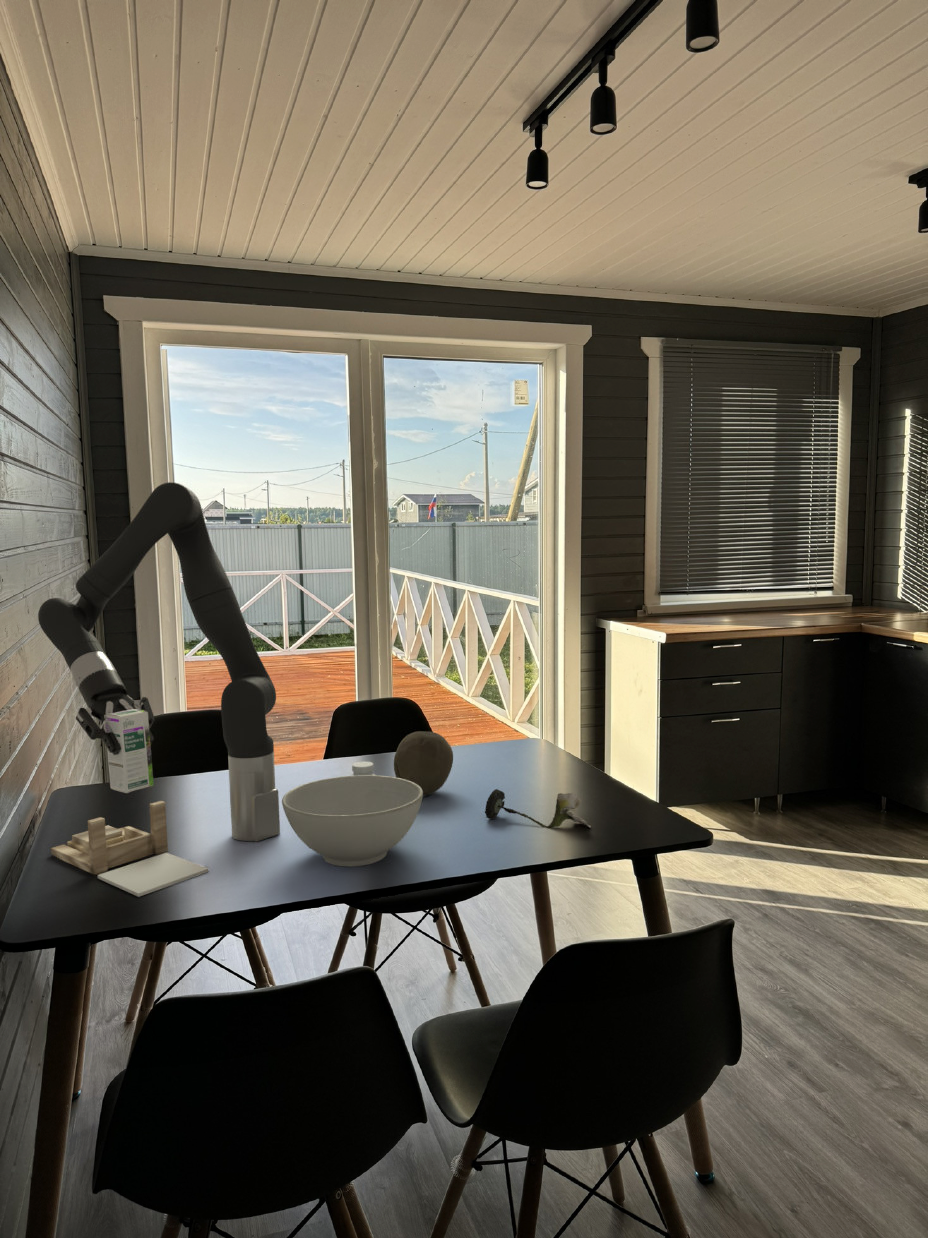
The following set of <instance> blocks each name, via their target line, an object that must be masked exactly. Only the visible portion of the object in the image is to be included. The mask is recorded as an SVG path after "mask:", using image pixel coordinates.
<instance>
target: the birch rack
mask: <svg viewBox="0 0 928 1238" xmlns="http://www.w3.org/2000/svg"><path fill="white" fill-rule="evenodd" d="M166 808H167V807H166V801H163V800H158V801H154V802H151V803H149V816H150V818H149V819H150V833H148V832H147V831H143V830H140V829H138V828H135V827H133V826H129V825H128V826H124V827H120V828H118V829H119V830H122V836H124V840H125V841H122V842H119V843H115V844H112V845H109V846H106V833H105V826H106V819H105V817H101V816H100V817H96V818H93V819H89V820H87V831H88V835H89V838H86V839H83V852H80V851H78V850H76V849H73V848H71V847H69V846H68V845H67V844H61V845H57V846H54V847H51V848H50V851H51V855H52V854H53V855H54V856H56V857H57V859H58V858H59V859H58V860H61V861H63V862H65V863H67V864H70V865H72V866H74V867H77V868H79V869H81V870H82V871H85V872H88V873H90V874H92V875H94V876H96V875H99V874H102V873H106V872H109V869H110V868H114V867H117V866H121V865H123V864H126V863H130V862H132V861H136V860H139V859H142V858H144V857H148V856H152V855H154V856H158V855H161V854H164V853H168V852H169V848H168V847H169V846H168V845H169V844H168V830H167V828H168V827H167V812H166V811H167V810H166ZM54 856H53V857H54ZM56 857H55V858H56Z"/></svg>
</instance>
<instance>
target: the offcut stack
mask: <svg viewBox="0 0 928 1238" xmlns="http://www.w3.org/2000/svg"><path fill="white" fill-rule="evenodd" d="M105 833H106V846H109V845H112V844H115V843H119V842H122V841H125V840H124V836H122V830H119V828H116V827H113V826H110V825H109V824H108V825H107V824H106V825H105ZM86 838H89V835H88V830H86V831H83V832H79V833H76V834H73V835H71V840H69V841H67V844H66V845H67V846H69V847H71V848H73V849H76V850H78V851H80V852H83V839H86Z"/></svg>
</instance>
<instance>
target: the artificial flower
mask: <svg viewBox="0 0 928 1238" xmlns="http://www.w3.org/2000/svg"><path fill="white" fill-rule="evenodd" d="M505 795H506V794H505V792H504V791H503V790H500V789H498V788H497V789H494V790H493V791H491V793H490V795H489V796H488V798H487V800H486V802H485V803H486V805H485V808H484V809H485V810H484V813H485V817H486V818H487V819H489V820H494V819H495V818H497V816H498V814H499V813H500V811H501V809H503V810H504V811H505V812H506V813H509V814H514V815H515V814H517V815H520V816H521V817H524V818H527V819H529V820H530V821H532V822H533V823H536V824H537V825H538V826H540V827H542V828H544V827H547V828H546V829H551V828H550V827H552V828H558V827H560V826H561V825H562V824H563V822H565V821H566V820H571V821H572V822H574V823H575V822H578V823H579V824H580V825H583V826H586V827H588V828H590V829H592V827H591V825H589V824H588V822H587V821H586V820H583V819H582V818H581V817H580V816H578V815H576V814H575V813H573V812H574V811H576V810H578V808H579V807H580V805H581V803H582V800H581V799H580V798H577V796H576V794H575V793H573V792H571V793H570V792H566V793H563V792H561V793H558V794H557V797H556V802H555V812H554V817H552V820H551V822H550V824H549V825H546V824H543V823H542V822H540V821H538V820H536V819H535V818H532V817H531V816H529V815H528V814H525V813H522V812H520V811H517V810H514V809H512V808H507V807H505V799H506V796H505Z"/></svg>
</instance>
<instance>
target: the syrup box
mask: <svg viewBox="0 0 928 1238" xmlns="http://www.w3.org/2000/svg"><path fill="white" fill-rule="evenodd" d="M106 716H107V718H108V723H109V725H110V727H111V733H114V735H115V737H116V739H117V741H118V743H119V745H120V747H121V750H120V752H119V754H117V755H113V753H111V752H109V750H108V748H107V747H106V748H107V749H106V751H107V762H108V773H109V785H110V786H109V787H110V790H114V791H117V792H120V793H125V794H129V793H131V792H134V791H138V790H142V789H145V788H149V787H153V786H154V773H153V772H154V771H153V762H152V761H153V760H152V750H151V749H152V748H151V747H152V745H150V733H149V730H150V728H149V721H148V712H147V711H144V710H140V709H136V708H134V709H132V710H126V711H121V712H116V713H111V714H106ZM104 719H105V715H104Z"/></svg>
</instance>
